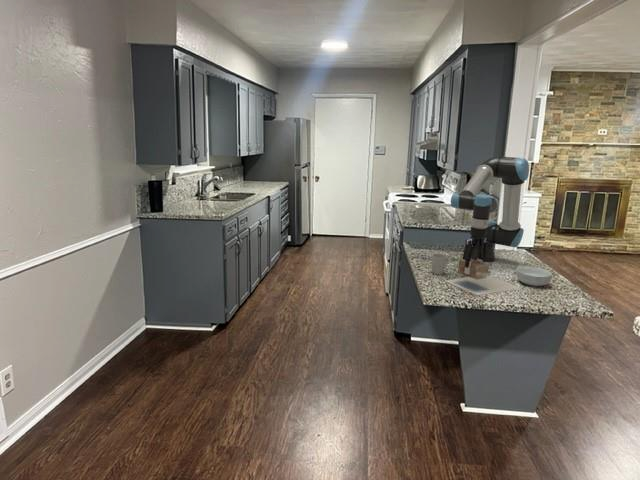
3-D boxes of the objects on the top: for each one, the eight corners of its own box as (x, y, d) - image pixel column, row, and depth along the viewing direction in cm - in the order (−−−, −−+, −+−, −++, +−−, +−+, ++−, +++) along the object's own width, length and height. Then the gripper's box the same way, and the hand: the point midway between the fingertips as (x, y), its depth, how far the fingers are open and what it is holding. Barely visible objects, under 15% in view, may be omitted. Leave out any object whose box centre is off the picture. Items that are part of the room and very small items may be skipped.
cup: (445, 272, 242) (448, 254, 239) (444, 277, 234) (447, 258, 232) (430, 270, 244) (432, 252, 242) (428, 274, 237) (431, 256, 234)
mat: (484, 275, 242) (484, 274, 242) (520, 288, 223) (520, 287, 223) (444, 281, 227) (444, 280, 227) (478, 296, 209) (478, 295, 209)
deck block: (458, 272, 223) (459, 259, 222) (467, 270, 227) (469, 258, 225) (476, 279, 213) (478, 266, 212) (487, 278, 217) (488, 265, 215)
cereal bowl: (516, 276, 242) (518, 264, 240) (550, 283, 234) (553, 270, 232) (512, 285, 228) (514, 271, 226) (548, 292, 220) (551, 278, 218)
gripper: (470, 230, 206) (463, 277, 212) (499, 227, 216) (492, 273, 221) (458, 226, 212) (452, 272, 218) (487, 224, 222) (480, 268, 228)
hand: (472, 272), depth 220 cm, fingers closed on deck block, 7 cm apart
